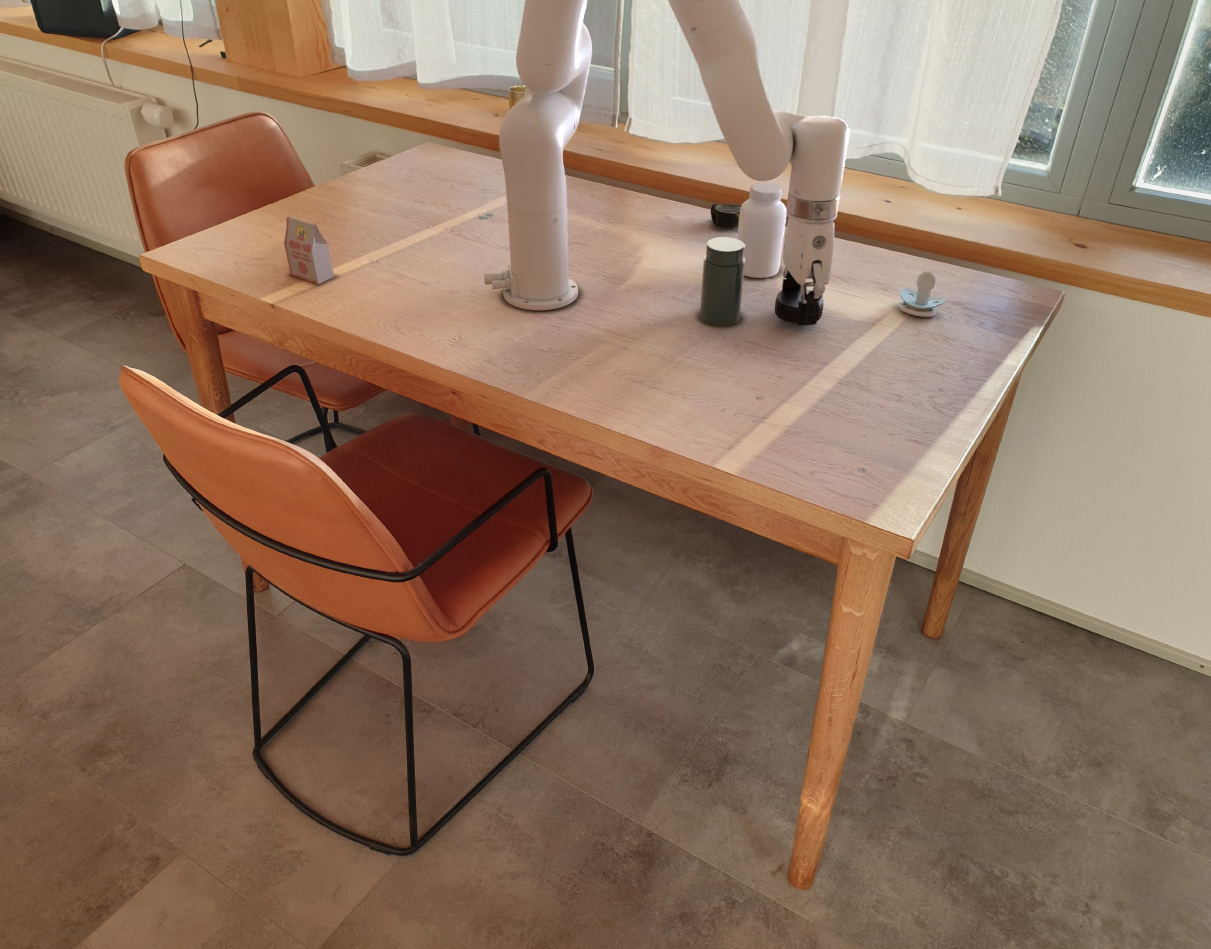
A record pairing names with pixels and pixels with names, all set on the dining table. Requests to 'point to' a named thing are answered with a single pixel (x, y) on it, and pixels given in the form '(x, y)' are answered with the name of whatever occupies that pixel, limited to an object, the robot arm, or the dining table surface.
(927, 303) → the pacifier
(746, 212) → the pill bottle
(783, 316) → the lid
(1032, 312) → the dining table surface
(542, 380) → the dining table surface
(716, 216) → the tape measure
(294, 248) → the white snack box
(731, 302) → the jar
